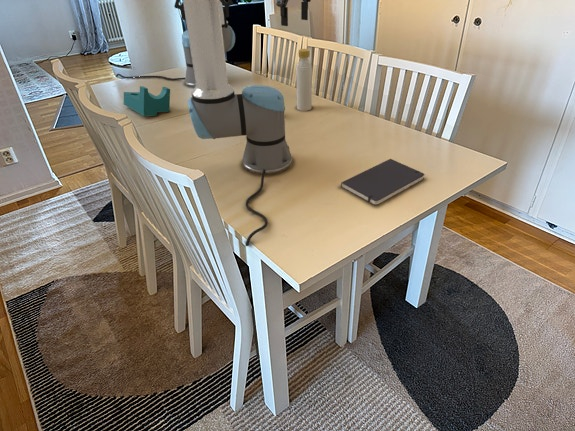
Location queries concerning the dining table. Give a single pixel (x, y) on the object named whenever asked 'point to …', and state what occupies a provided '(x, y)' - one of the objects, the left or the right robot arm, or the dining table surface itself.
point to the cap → (304, 53)
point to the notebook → (382, 181)
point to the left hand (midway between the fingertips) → (294, 22)
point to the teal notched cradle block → (148, 101)
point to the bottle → (304, 84)
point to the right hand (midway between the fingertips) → (207, 28)
